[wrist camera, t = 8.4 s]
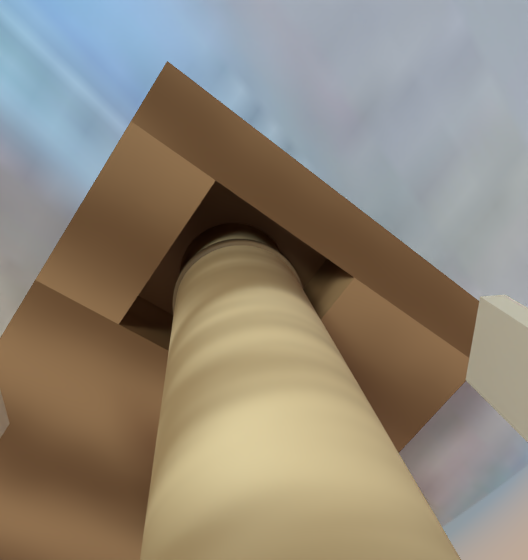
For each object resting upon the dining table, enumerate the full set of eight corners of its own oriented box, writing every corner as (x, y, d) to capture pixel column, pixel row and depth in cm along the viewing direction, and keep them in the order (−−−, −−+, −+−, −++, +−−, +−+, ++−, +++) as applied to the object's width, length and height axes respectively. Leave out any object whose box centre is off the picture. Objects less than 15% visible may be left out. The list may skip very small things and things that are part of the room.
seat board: (177, 78, 18) (12, -188, 2) (438, 276, 23) (957, 630, 7) (-34, 422, 22) (-607, 1168, 6) (224, 527, 27) (257, 1093, 11)
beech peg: (218, 197, 17) (275, 465, 4) (308, 260, 18) (565, 606, 5) (155, 289, 18) (36, 741, 5) (245, 341, 19) (336, 800, 6)
